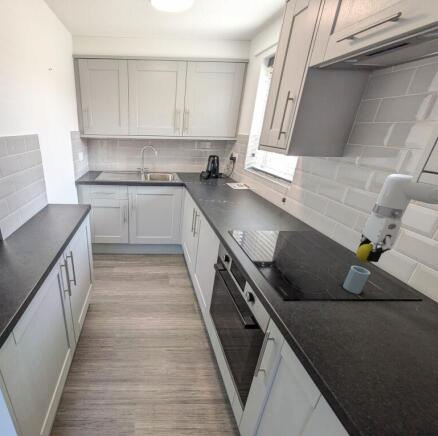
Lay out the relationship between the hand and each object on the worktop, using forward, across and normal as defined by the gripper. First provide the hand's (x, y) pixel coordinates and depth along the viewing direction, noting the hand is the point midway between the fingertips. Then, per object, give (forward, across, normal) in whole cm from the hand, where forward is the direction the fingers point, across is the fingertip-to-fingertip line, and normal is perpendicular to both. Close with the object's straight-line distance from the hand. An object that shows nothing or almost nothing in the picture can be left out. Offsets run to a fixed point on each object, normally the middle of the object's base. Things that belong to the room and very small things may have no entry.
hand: (366, 256), depth 85 cm
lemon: (+3, 0, 0) cm, 3 cm away
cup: (+15, 0, 0) cm, 15 cm away
